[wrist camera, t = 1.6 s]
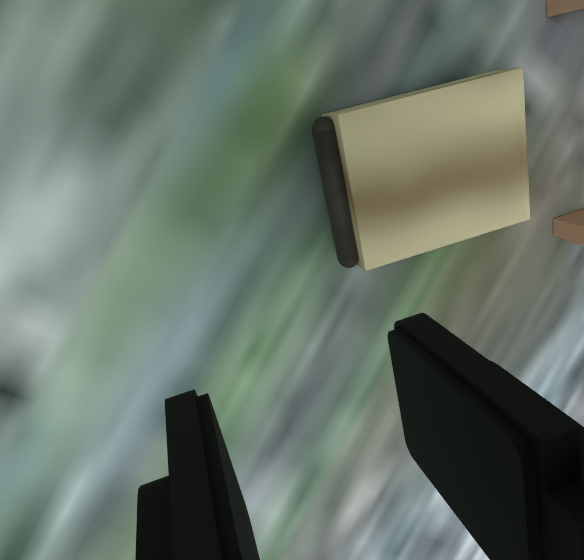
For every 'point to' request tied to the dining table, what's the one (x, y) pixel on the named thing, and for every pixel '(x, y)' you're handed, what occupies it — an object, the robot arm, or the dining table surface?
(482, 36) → the dining table surface
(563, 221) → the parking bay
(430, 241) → the beige rectangular block
